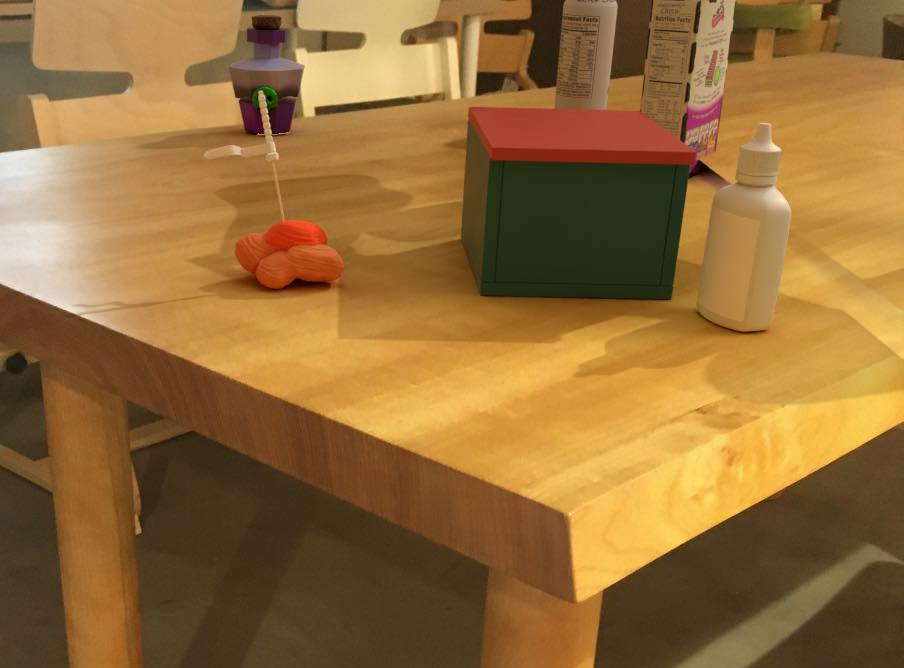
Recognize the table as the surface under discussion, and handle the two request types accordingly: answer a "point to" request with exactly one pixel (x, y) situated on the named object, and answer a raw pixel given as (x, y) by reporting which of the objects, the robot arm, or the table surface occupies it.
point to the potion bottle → (266, 78)
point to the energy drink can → (585, 54)
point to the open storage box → (571, 226)
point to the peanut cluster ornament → (282, 233)
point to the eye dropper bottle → (746, 241)
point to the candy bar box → (688, 70)
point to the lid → (576, 136)
